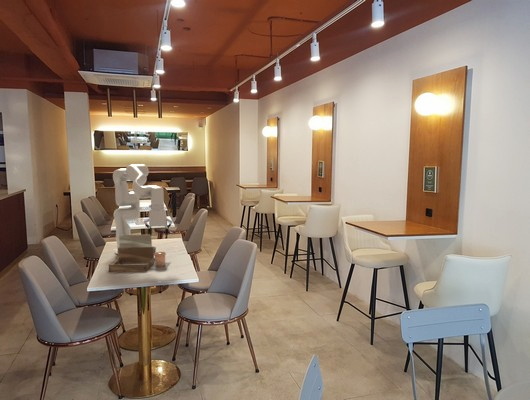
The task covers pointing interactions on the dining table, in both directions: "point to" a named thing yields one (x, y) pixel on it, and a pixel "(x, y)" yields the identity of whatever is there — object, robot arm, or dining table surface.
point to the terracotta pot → (160, 259)
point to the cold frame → (134, 253)
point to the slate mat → (159, 267)
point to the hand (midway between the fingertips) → (158, 234)
